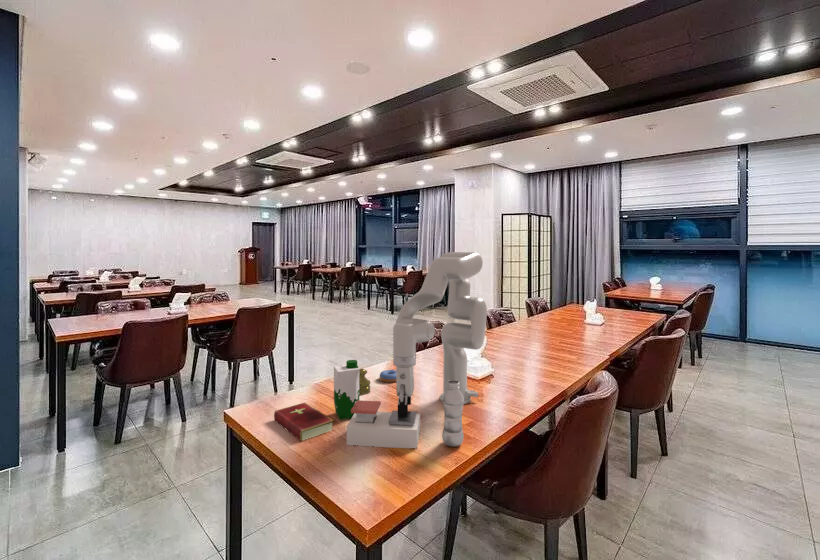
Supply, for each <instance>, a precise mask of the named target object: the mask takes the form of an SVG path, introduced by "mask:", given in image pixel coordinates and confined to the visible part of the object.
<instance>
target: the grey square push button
mask: <svg viewBox="0 0 820 560" xmlns="http://www.w3.org/2000/svg"><path fill="white" fill-rule="evenodd" d="M417 413H418V412H417V411H414V410H413V411H412V410H410V411H409V410H408V416H407V417H402V416H398V410H392V414H391V416H390V419H389V424H395V425H414V424H415V419H416V415H417Z"/></svg>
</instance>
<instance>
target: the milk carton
mask: <svg viewBox="0 0 820 560" xmlns="http://www.w3.org/2000/svg"><path fill="white" fill-rule="evenodd" d="M345 362H346V364H339V365H334V366H333V405H334V409H335V411H334V412H335V414H336V416H337V417H338V419H339V421H343V420H347V419H348V420H349V419H351V418H352V417H353V415H354V413H351V409H352V408H353V406H354V405H355V403H356V402H357V400H360V394H359V370H360V369H361V368H359V365H358V360H357V359H348V360H346V361H345Z"/></svg>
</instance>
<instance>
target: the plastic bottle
mask: <svg viewBox="0 0 820 560" xmlns="http://www.w3.org/2000/svg"><path fill="white" fill-rule="evenodd" d="M447 388H448V390H447V391H446V392H445V394H444V396H443V402H442V403H443V412H444V413H443V414H444V420H443V421H444V422H443V429H442V432H441V433H442V435H441V437H442V441H443V444H444V445H446V446H447V447H451V448H454V447H459V446H461V445H462V444H463V442H464V438H465V437H464V436H465V435H464V431H463V420H462V419H463V410H464V405H465V404H464V397H463V395H462V393H461V392H460V390H459V388H460V386H459V381H456V380H449V381H448V382H447Z"/></svg>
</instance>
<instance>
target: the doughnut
mask: <svg viewBox="0 0 820 560" xmlns="http://www.w3.org/2000/svg"><path fill="white" fill-rule="evenodd" d="M396 371H397V369H386V370H382V371H381V372H380V373H379V379H380V381H381V382H383V383H387V382H392V383H396Z"/></svg>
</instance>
